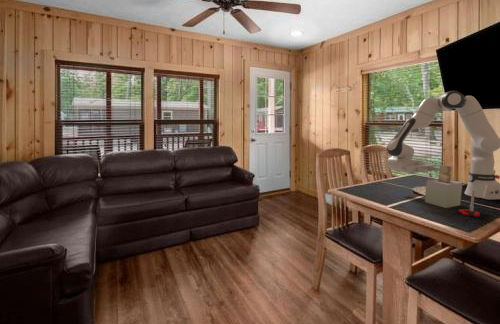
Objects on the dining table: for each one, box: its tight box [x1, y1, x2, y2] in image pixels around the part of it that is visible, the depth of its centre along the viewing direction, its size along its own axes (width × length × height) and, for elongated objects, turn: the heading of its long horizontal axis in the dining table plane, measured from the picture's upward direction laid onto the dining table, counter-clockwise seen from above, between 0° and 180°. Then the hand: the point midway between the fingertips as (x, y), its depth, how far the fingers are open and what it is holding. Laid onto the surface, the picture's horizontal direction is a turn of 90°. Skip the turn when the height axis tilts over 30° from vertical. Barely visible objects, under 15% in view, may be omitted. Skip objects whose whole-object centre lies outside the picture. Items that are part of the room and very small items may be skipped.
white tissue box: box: [424, 178, 463, 209], centre depth 158 cm, size 12×12×13 cm
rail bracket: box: [438, 164, 453, 183], centre depth 157 cm, size 4×4×13 cm
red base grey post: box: [458, 191, 481, 218], centre depth 142 cm, size 8×13×9 cm
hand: (432, 170), depth 163 cm, fingers open, 8 cm apart
